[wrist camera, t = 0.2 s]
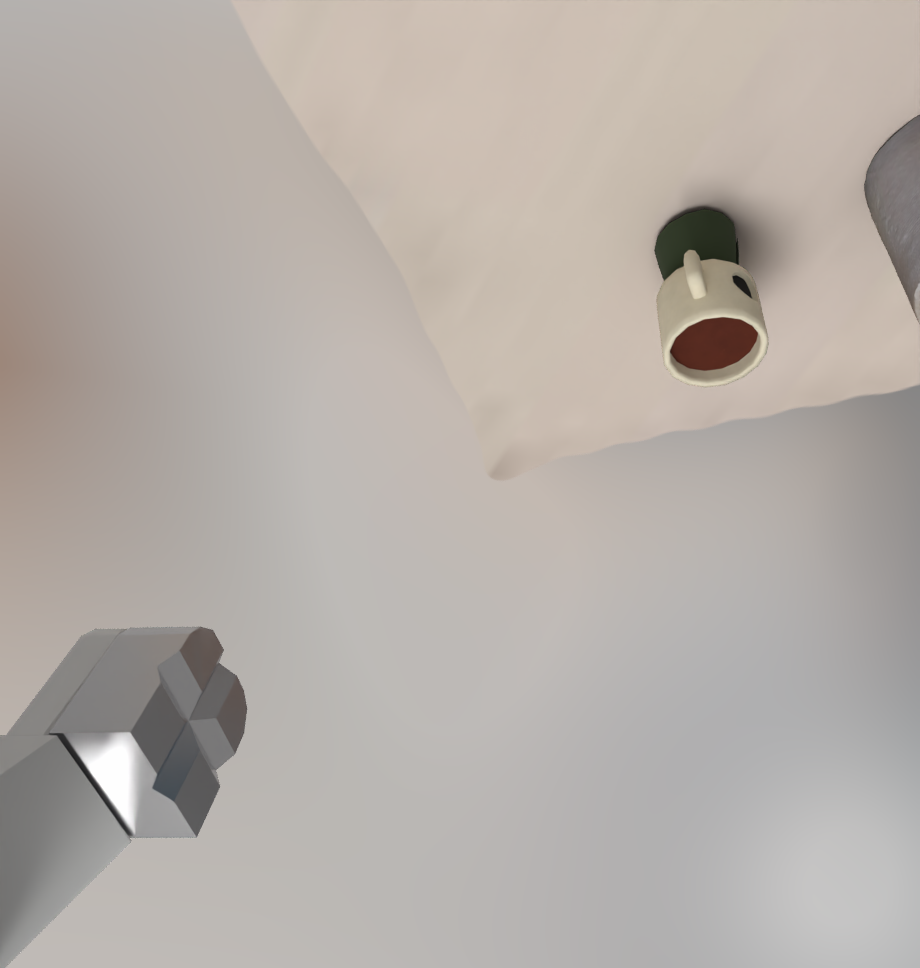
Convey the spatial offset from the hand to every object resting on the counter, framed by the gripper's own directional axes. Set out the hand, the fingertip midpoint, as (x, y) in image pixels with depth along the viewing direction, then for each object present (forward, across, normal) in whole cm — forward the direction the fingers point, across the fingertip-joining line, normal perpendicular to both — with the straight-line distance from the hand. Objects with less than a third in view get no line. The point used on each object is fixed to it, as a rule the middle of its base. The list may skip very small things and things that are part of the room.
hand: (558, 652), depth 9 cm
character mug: (+60, -6, +15) cm, 62 cm away
